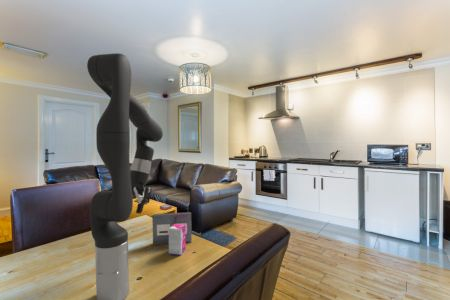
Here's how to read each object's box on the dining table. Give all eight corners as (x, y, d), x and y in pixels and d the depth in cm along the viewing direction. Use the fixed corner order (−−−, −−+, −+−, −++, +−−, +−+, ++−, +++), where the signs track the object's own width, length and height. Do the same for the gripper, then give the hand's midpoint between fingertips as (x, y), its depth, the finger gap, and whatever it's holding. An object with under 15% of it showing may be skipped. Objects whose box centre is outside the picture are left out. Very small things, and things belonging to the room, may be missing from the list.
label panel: (191, 242, 109) (191, 213, 108) (152, 245, 106) (152, 215, 106) (191, 240, 111) (191, 212, 111) (153, 243, 109) (153, 214, 108)
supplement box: (181, 255, 96) (180, 229, 96) (168, 254, 97) (167, 228, 97) (186, 249, 102) (185, 224, 101) (174, 248, 103) (173, 223, 103)
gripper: (120, 167, 92) (109, 207, 89) (147, 171, 86) (137, 214, 83) (133, 170, 99) (123, 208, 96) (159, 174, 93) (150, 214, 90)
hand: (130, 211), depth 89 cm, fingers open, 8 cm apart
